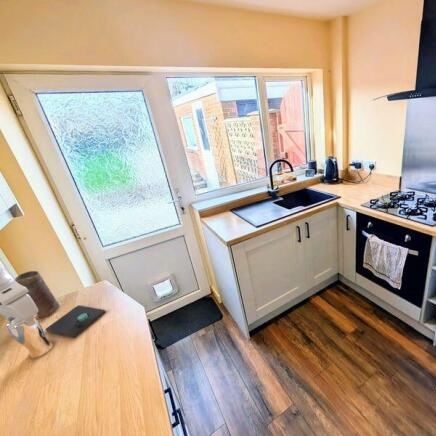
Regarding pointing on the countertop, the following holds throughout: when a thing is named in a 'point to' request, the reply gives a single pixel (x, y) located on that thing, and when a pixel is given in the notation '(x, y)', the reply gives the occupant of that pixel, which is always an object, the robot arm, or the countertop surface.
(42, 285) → the candle
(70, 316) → the scale
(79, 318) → the button
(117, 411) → the countertop surface
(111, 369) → the countertop surface
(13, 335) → the beer glass
